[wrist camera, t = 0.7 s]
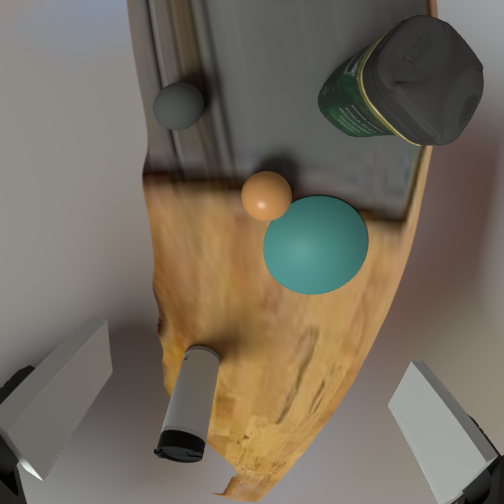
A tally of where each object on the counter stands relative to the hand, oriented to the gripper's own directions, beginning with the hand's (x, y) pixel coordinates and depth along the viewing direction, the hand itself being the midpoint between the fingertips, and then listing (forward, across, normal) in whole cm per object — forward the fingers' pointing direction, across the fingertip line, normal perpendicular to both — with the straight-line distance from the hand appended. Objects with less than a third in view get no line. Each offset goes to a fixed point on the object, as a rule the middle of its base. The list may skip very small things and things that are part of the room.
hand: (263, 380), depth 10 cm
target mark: (+25, +8, +1) cm, 27 cm away
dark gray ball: (+20, -11, +15) cm, 27 cm away
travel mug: (+31, -6, -22) cm, 38 cm away
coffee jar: (+21, +8, +20) cm, 31 cm away
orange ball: (+21, 0, +6) cm, 22 cm away
